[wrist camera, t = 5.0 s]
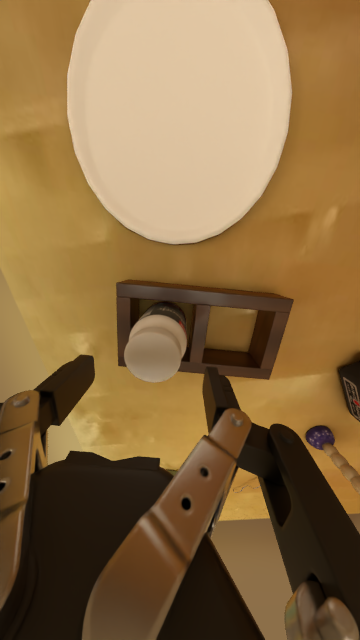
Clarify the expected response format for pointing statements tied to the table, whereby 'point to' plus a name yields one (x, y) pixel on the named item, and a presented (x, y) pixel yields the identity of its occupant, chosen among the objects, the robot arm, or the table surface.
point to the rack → (196, 357)
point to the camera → (352, 387)
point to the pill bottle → (157, 343)
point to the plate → (179, 111)
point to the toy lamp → (332, 453)
